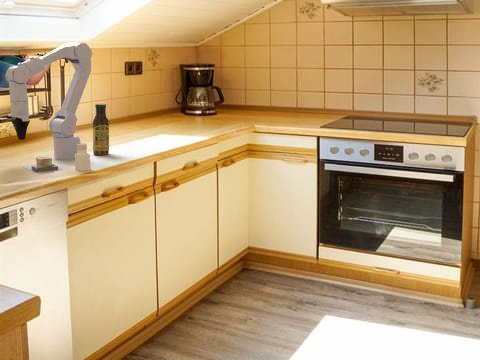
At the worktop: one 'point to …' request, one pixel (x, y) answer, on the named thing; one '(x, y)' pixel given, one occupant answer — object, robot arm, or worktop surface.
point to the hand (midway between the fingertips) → (21, 139)
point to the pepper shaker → (82, 158)
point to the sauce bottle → (100, 131)
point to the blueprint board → (39, 170)
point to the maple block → (43, 162)
